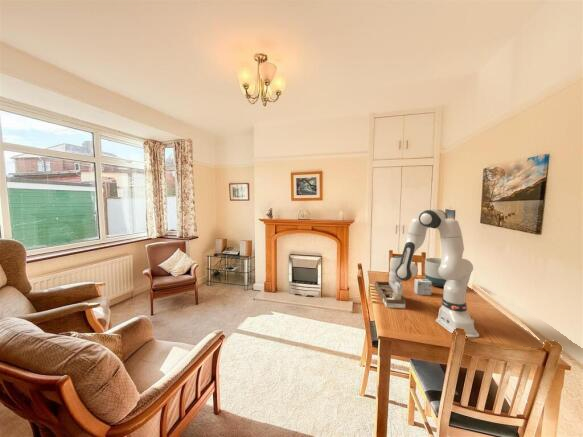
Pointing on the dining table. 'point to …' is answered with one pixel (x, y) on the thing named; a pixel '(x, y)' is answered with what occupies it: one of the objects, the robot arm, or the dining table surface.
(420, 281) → the light bulb box
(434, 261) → the planter
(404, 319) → the dining table surface
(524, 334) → the dining table surface
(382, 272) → the dining table surface
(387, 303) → the trap channel
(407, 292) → the dining table surface
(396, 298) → the birch block
